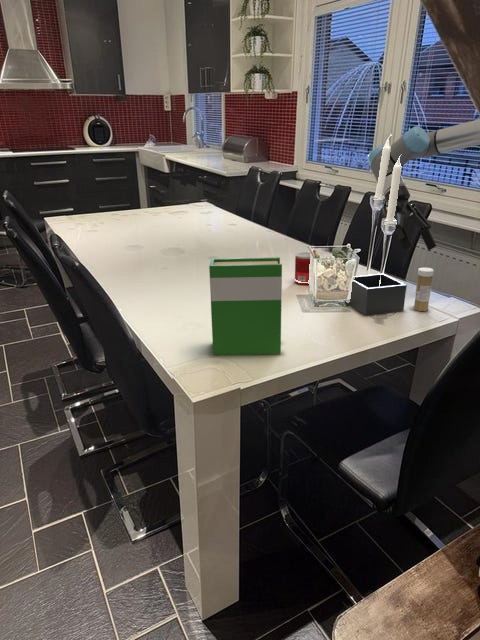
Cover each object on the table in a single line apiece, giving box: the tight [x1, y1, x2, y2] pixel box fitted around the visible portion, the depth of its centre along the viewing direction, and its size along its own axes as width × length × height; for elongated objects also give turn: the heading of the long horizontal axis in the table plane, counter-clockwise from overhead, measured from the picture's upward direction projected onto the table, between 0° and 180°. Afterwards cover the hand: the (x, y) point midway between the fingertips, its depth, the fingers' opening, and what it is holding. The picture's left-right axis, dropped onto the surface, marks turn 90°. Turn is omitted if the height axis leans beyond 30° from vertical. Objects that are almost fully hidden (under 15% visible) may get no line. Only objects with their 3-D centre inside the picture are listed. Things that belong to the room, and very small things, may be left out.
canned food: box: [294, 251, 311, 286], centre depth 178 cm, size 8×8×11 cm
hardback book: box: [208, 256, 283, 356], centre depth 121 cm, size 18×7×24 cm, turn 90°
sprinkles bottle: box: [413, 267, 435, 312], centre depth 148 cm, size 5×5×14 cm
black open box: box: [347, 273, 408, 317], centre depth 152 cm, size 14×14×9 cm
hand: (421, 248), depth 147 cm, fingers open, 13 cm apart
